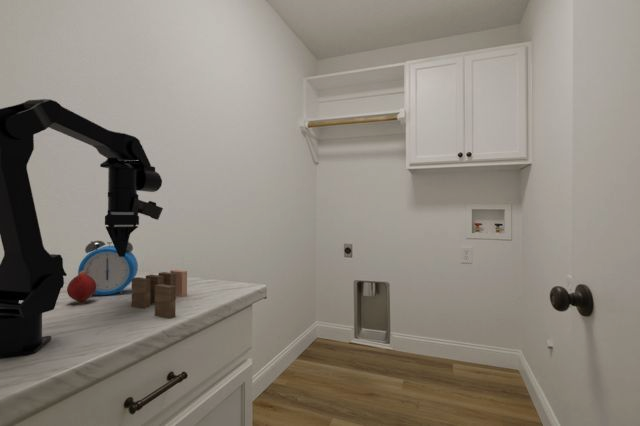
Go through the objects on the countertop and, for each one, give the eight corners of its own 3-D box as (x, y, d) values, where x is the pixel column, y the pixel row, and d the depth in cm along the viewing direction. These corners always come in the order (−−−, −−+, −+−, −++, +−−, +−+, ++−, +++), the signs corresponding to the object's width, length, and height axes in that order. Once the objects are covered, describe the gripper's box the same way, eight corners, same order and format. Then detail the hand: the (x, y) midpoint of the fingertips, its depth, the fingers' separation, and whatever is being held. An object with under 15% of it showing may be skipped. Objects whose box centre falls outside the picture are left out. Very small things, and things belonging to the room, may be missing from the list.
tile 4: (170, 300, 80) (170, 274, 80) (158, 298, 82) (158, 273, 82) (175, 298, 82) (175, 273, 82) (163, 296, 84) (163, 272, 84)
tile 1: (169, 318, 67) (169, 287, 67) (154, 315, 69) (154, 285, 69) (175, 316, 68) (175, 286, 68) (161, 313, 70) (161, 283, 70)
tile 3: (157, 304, 77) (158, 277, 77) (145, 302, 79) (145, 275, 79) (163, 302, 79) (163, 276, 79) (151, 300, 80) (151, 274, 80)
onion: (80, 306, 75) (80, 273, 75) (60, 305, 76) (61, 272, 76) (101, 300, 80) (101, 269, 80) (83, 298, 82) (83, 268, 82)
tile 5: (182, 296, 84) (182, 272, 84) (170, 294, 86) (170, 270, 86) (186, 295, 85) (187, 271, 85) (175, 293, 87) (175, 269, 87)
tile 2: (144, 308, 74) (144, 280, 74) (131, 306, 76) (131, 278, 76) (150, 306, 75) (150, 279, 75) (137, 304, 77) (137, 277, 77)
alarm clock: (77, 298, 82) (77, 242, 82) (85, 292, 88) (86, 239, 88) (133, 294, 86) (133, 240, 86) (138, 288, 92) (138, 238, 92)
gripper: (164, 188, 70) (164, 256, 70) (157, 192, 86) (156, 248, 85) (105, 185, 64) (104, 260, 64) (108, 190, 80) (107, 251, 79)
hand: (121, 254), depth 73 cm, fingers open, 9 cm apart
